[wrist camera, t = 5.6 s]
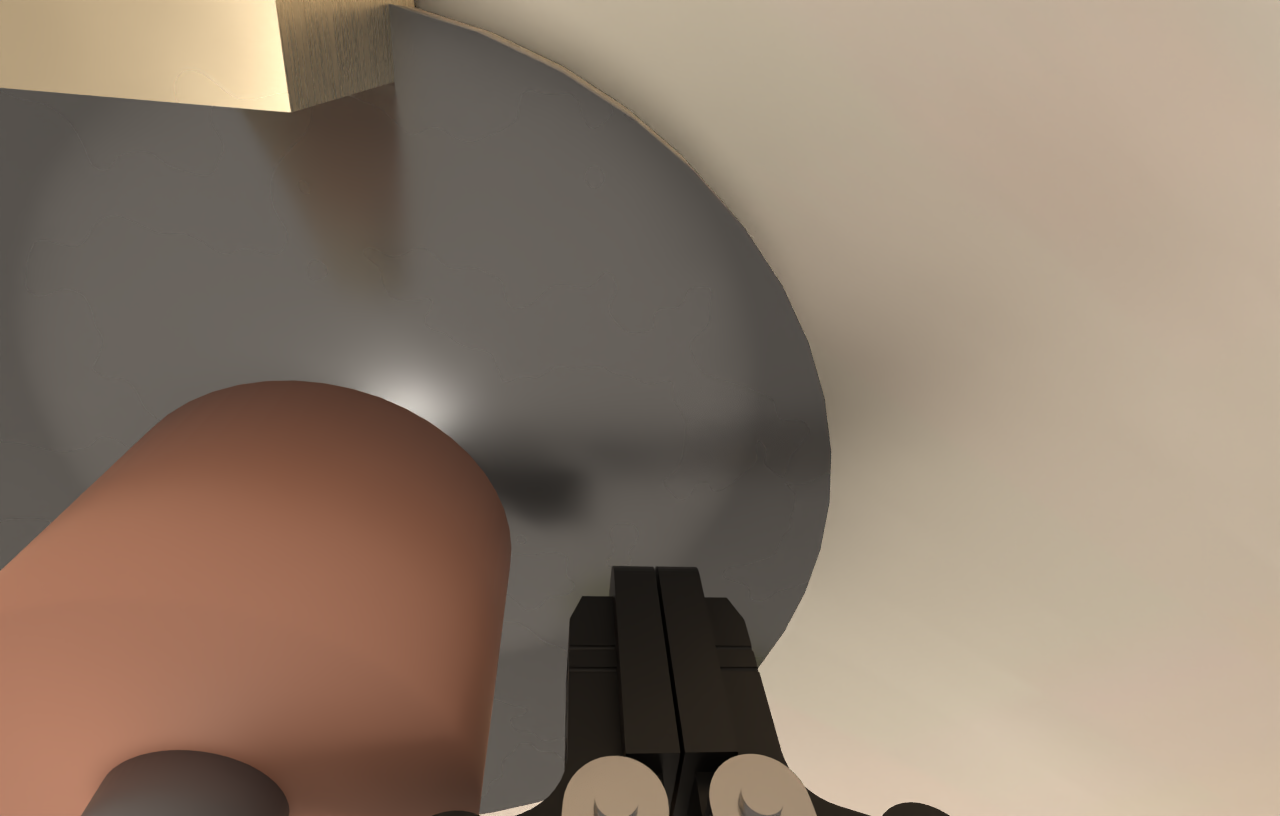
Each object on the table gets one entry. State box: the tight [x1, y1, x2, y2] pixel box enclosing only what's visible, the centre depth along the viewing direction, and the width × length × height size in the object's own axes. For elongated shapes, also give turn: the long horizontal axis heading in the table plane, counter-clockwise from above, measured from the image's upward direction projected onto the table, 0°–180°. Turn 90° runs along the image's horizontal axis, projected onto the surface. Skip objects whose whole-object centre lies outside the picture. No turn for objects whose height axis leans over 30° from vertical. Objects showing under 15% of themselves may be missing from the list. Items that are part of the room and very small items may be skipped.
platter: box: [0, 0, 831, 814], centre depth 10 cm, size 18×25×6 cm
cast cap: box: [0, 380, 511, 816], centre depth 10 cm, size 7×7×6 cm
